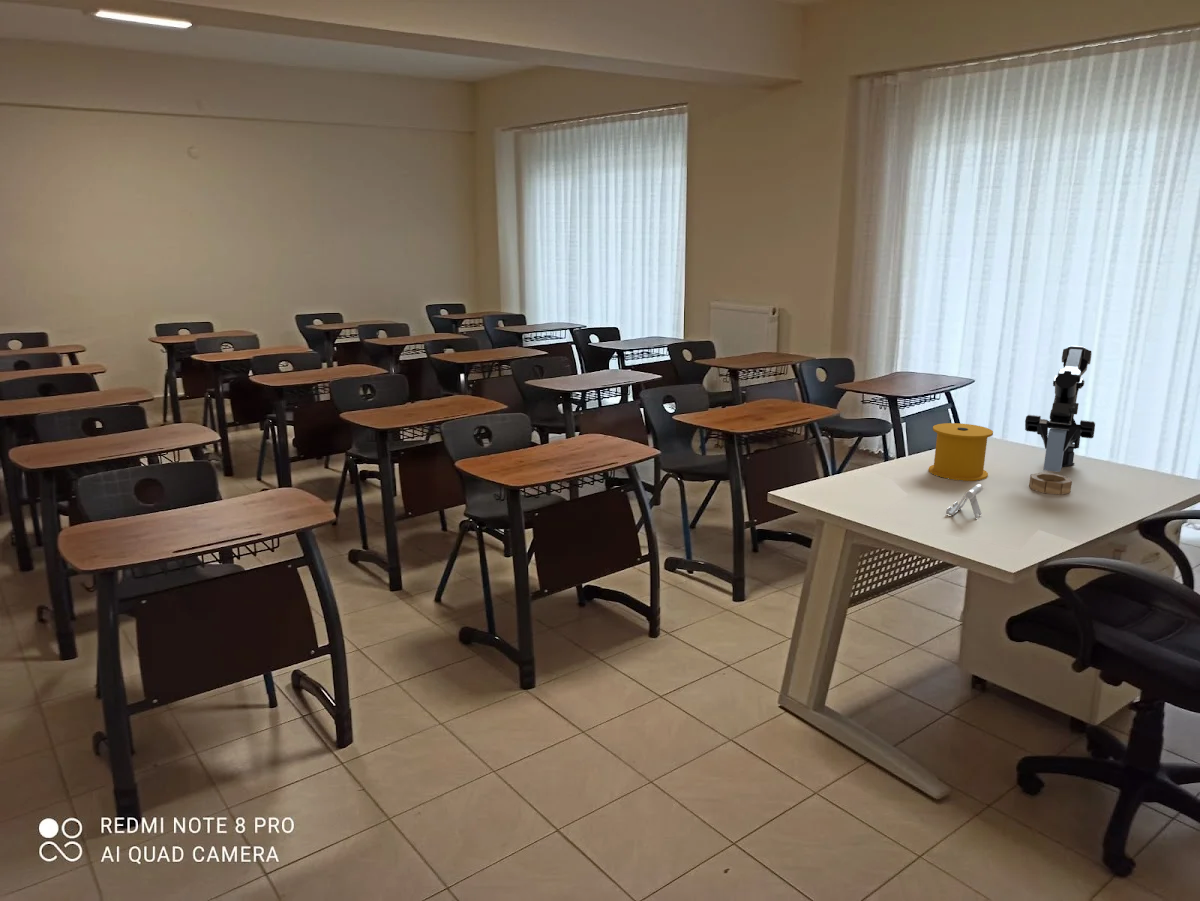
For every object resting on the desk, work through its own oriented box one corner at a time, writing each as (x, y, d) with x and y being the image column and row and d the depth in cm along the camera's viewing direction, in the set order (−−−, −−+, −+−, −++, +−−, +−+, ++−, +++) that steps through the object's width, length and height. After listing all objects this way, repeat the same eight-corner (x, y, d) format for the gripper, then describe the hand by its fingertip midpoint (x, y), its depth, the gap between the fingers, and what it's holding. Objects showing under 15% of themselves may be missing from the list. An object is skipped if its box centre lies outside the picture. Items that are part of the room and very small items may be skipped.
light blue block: (1044, 466, 261) (1050, 428, 258) (1061, 468, 259) (1066, 430, 256) (1043, 469, 257) (1048, 431, 254) (1059, 472, 255) (1065, 433, 252)
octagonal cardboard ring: (1022, 486, 262) (1023, 475, 261) (1045, 481, 267) (1046, 471, 266) (1054, 496, 253) (1055, 484, 252) (1077, 491, 257) (1078, 480, 256)
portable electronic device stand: (955, 508, 242) (958, 480, 240) (984, 514, 237) (987, 485, 235) (945, 516, 236) (948, 487, 234) (974, 522, 231) (978, 492, 229)
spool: (997, 481, 267) (1003, 435, 264) (940, 481, 268) (945, 435, 264) (974, 465, 285) (979, 422, 281) (920, 465, 285) (924, 422, 281)
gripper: (1030, 389, 260) (1020, 431, 254) (1099, 395, 250) (1091, 439, 244) (1029, 409, 268) (1020, 450, 262) (1097, 416, 259) (1089, 459, 253)
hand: (1054, 449), depth 255 cm, fingers closed on light blue block, 4 cm apart
